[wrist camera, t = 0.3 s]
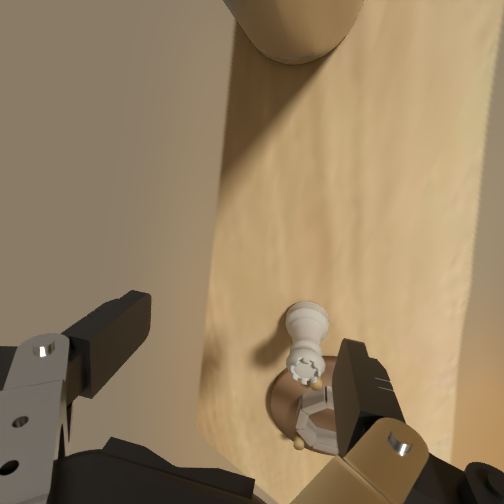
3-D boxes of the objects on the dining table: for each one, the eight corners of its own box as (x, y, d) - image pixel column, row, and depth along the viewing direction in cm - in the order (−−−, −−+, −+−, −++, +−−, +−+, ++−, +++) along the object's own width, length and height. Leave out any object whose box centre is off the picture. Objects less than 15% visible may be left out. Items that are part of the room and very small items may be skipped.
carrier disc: (281, 343, 33) (278, 363, 30) (412, 373, 31) (423, 398, 28) (263, 428, 38) (259, 453, 36) (374, 458, 37) (379, 486, 34)
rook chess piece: (336, 326, 31) (343, 385, 24) (299, 340, 32) (294, 400, 25) (315, 292, 30) (316, 343, 23) (278, 308, 32) (267, 361, 24)
